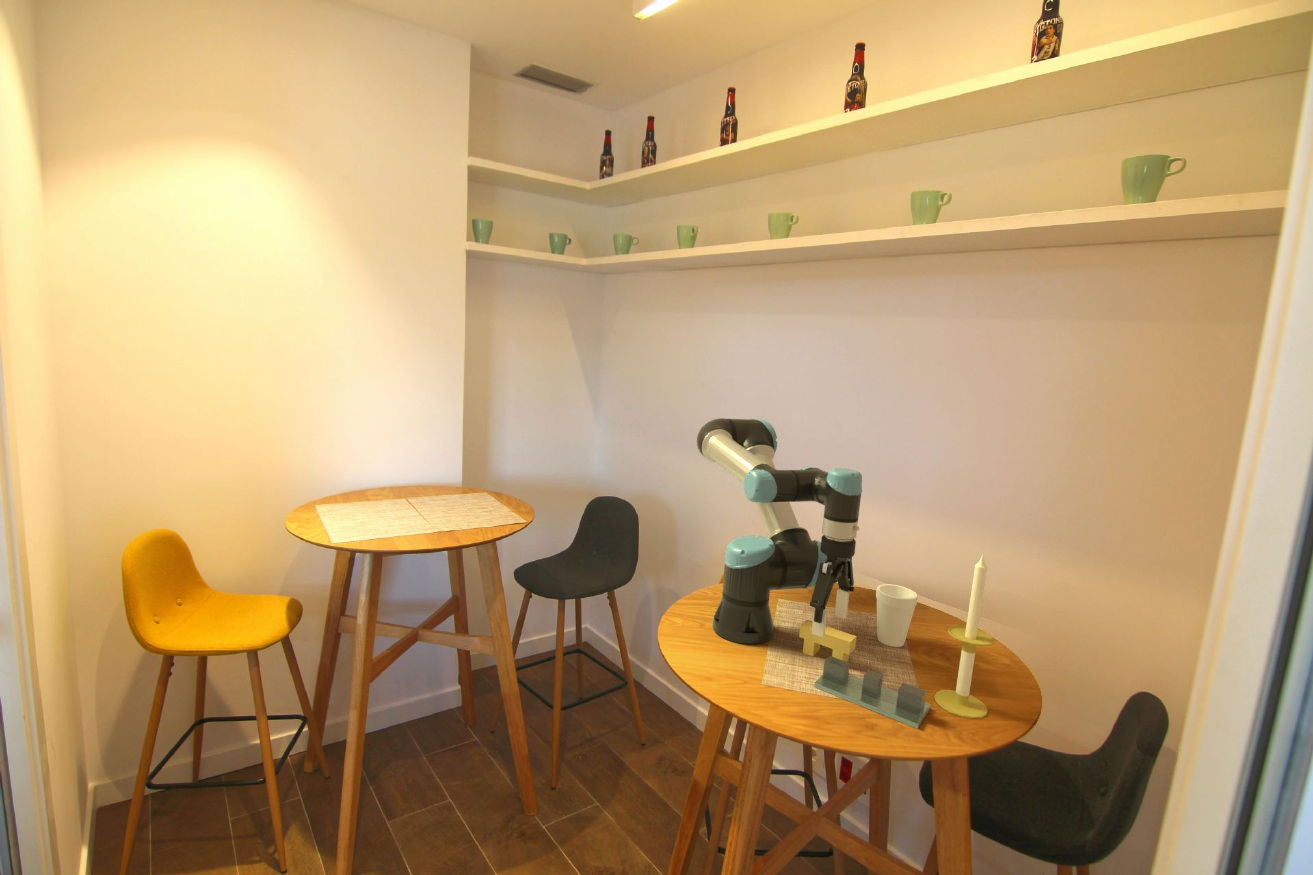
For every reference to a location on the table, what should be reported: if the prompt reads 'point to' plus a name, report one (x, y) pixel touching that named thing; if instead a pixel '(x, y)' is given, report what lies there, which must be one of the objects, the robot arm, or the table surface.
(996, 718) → the table surface
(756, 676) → the table surface
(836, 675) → the rail
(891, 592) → the foam cup
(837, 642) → the yellow arch-shaped block
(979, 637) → the candle
